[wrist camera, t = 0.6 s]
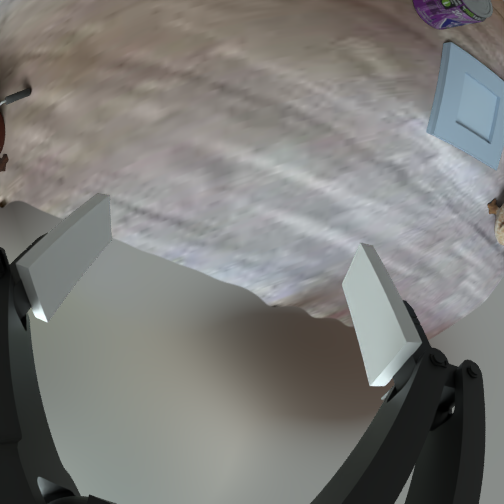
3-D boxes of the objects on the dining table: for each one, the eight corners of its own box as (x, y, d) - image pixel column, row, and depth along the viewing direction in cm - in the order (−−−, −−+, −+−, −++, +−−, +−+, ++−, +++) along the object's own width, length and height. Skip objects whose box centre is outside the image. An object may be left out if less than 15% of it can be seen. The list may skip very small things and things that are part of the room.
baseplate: (443, 43, 24) (451, 42, 22) (506, 89, 25) (514, 90, 23) (426, 132, 32) (433, 134, 30) (489, 166, 33) (496, 170, 31)
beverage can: (416, 25, 23) (461, 11, 13) (406, -13, 20) (446, -36, 10) (451, 34, 23) (500, 28, 12) (442, -3, 19) (486, -17, 9)
